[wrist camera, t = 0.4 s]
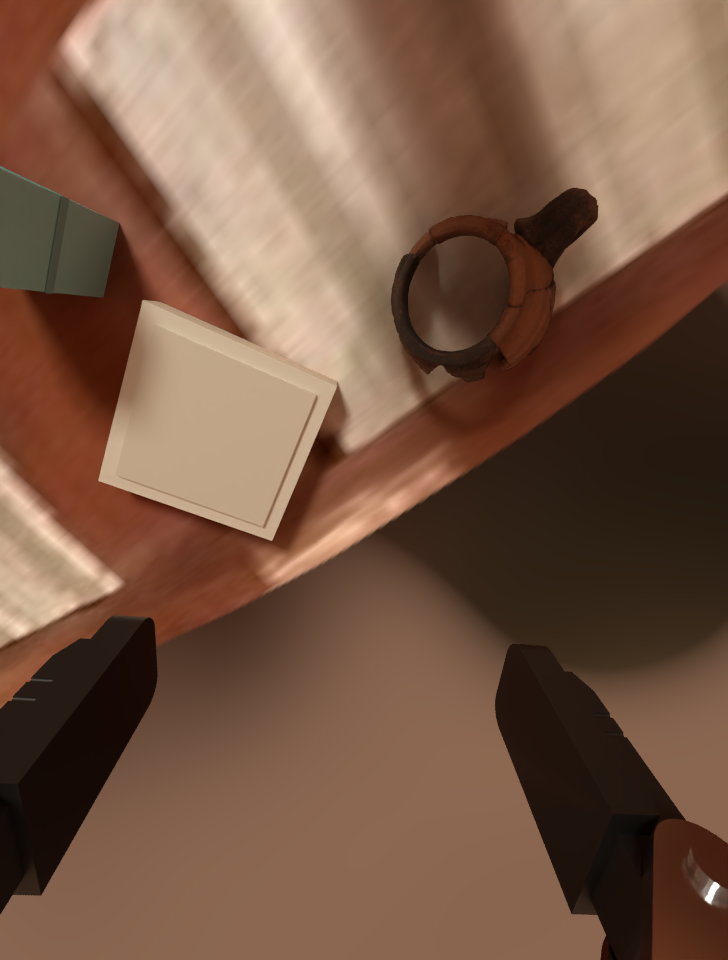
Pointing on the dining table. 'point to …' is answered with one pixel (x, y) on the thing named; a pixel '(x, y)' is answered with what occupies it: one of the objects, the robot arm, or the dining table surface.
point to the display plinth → (212, 422)
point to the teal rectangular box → (51, 240)
